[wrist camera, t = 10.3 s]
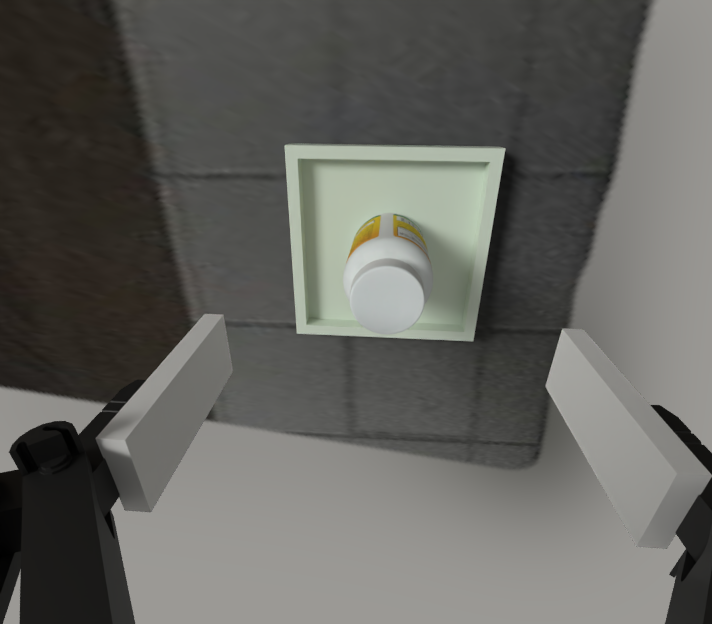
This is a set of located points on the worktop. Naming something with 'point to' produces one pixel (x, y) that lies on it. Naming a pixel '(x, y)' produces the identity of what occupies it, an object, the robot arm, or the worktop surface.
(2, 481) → the robot arm
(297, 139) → the worktop surface
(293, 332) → the worktop surface
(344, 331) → the tray
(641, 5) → the worktop surface
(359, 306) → the supplement bottle
